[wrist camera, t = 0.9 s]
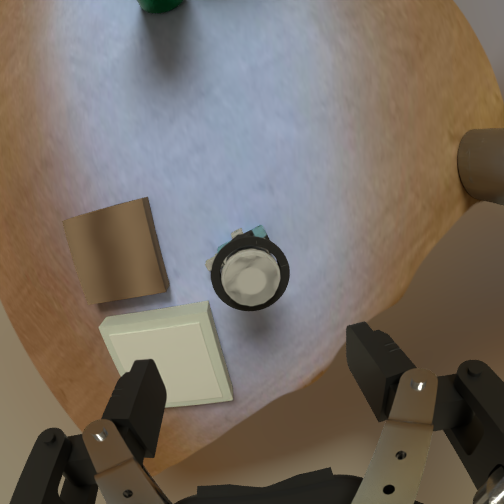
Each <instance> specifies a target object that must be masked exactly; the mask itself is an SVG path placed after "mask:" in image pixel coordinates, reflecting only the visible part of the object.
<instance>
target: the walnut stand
mask: <svg viewBox="0 0 504 504" xmlns="http://www.w3.org/2000/svg"><path fill="white" fill-rule="evenodd" d="M62 222H63V226H64V230H65V234H66V238H67V241H68V245H69V248H70V252H71V255H72V259H73V262H74V265H75V268H76V271H77V274H78V278H79V280H80V283H81V286H82V289H83V292H84V295H85V298H86V300H87V303H88V305H91V304H97V303H104V302H110V301H116V300H122V299H128V298H134V297H140V296H146V295H152V294H157V293H163V292H166V291H167V289H168V287H169V285H170V284H169V280H168V277H167V273H166V269H165V266H164V262H163V258H162V254H161V251H160V247H159V243H158V239H157V235H156V230H155V226H154V222H153V218H152V213H151V209H150V204H149V200H148V197H145V198H141V199H137V200H133V201H129V202H125V203H121V204H118V205H114V206H110V207H107V208H103V209H100V210H96V211H93V212H89V213H86V214H82V215H79V216H76V217H72V218H70V219H67V220H64V221H62Z"/></svg>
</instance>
